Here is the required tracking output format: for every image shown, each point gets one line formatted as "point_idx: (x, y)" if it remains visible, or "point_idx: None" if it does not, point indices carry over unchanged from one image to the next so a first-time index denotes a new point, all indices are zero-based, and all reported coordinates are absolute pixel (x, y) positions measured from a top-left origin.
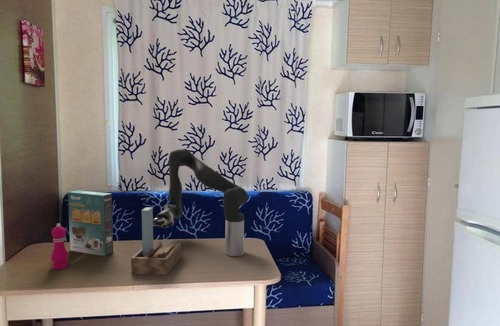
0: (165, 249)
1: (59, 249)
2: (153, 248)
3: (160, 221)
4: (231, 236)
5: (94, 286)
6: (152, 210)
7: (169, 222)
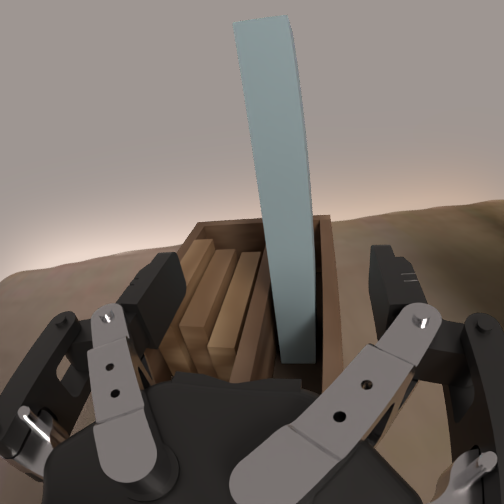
0: (197, 259)
1: None
2: (267, 289)
3: (196, 373)
4: None
5: (382, 215)
6: (236, 44)
7: (78, 324)
